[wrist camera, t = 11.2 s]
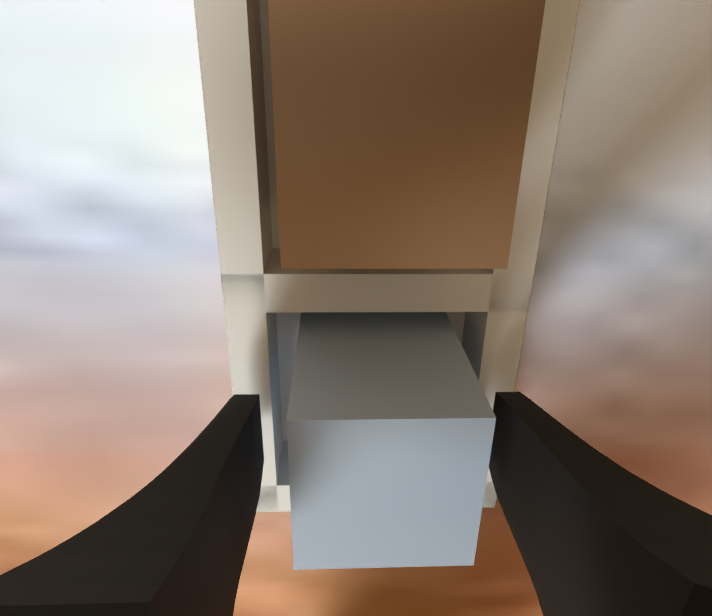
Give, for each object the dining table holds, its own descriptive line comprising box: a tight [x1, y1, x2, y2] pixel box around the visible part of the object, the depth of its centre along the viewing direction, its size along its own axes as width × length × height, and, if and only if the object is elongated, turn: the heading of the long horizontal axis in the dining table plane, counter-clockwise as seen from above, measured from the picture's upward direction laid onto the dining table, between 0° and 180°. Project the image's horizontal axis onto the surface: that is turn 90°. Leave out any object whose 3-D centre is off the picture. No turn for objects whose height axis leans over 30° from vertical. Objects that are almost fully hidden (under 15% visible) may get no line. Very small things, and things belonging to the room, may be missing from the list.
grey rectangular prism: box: [286, 312, 496, 570], centre depth 13 cm, size 4×4×6 cm
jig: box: [194, 0, 580, 512], centre depth 13 cm, size 16×8×3 cm, turn 179°
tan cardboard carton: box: [268, 0, 546, 269], centre depth 10 cm, size 6×4×5 cm, turn 179°
